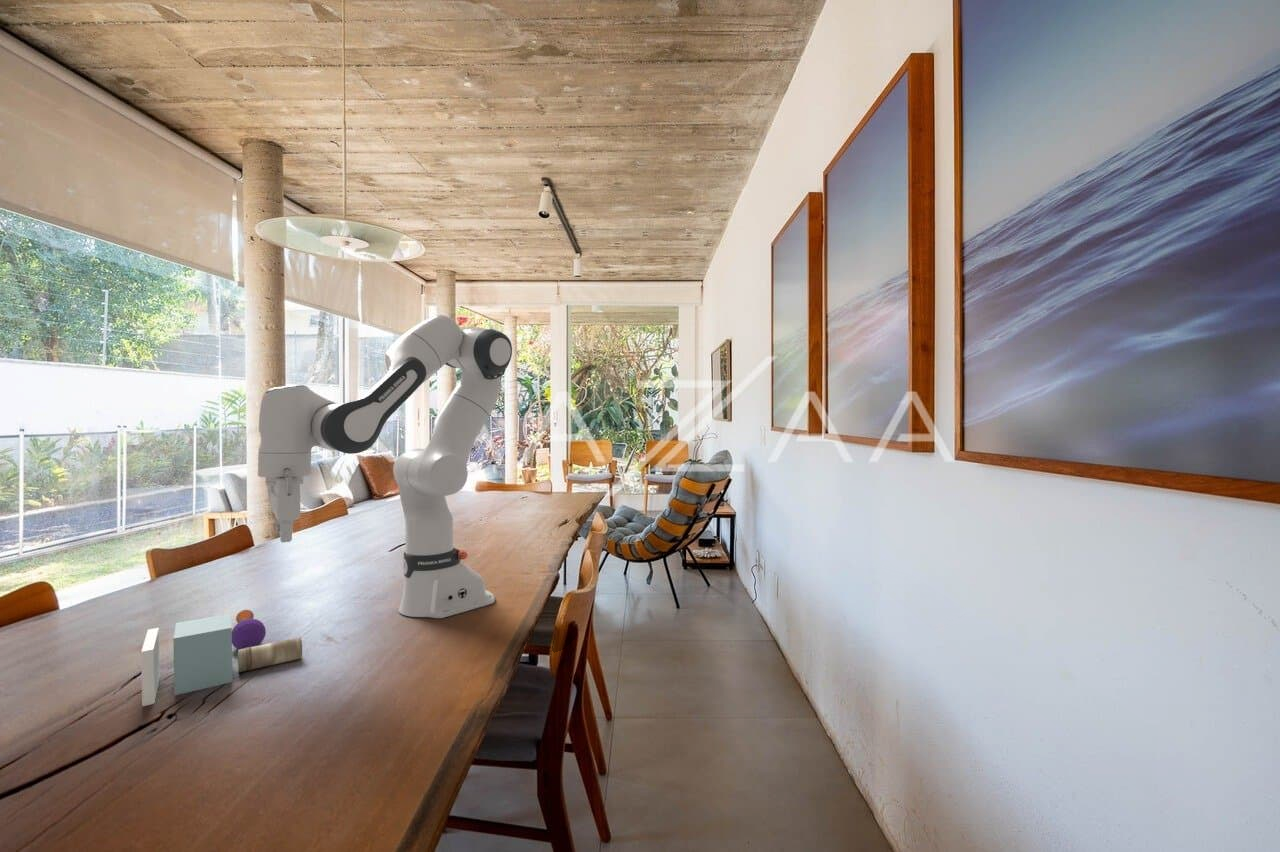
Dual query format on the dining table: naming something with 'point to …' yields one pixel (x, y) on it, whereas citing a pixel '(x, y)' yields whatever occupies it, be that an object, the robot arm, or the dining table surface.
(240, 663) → the dowel
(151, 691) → the slab
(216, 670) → the block
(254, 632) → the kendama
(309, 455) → the robot arm
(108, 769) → the dining table surface
